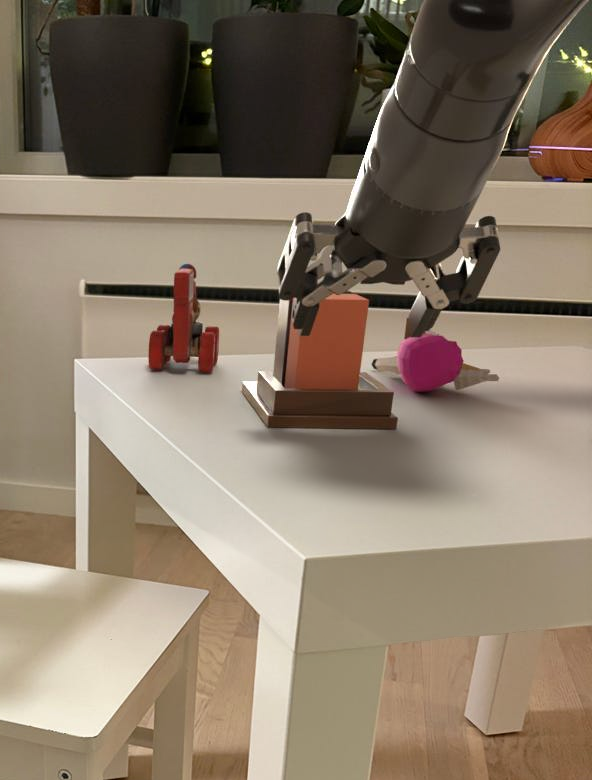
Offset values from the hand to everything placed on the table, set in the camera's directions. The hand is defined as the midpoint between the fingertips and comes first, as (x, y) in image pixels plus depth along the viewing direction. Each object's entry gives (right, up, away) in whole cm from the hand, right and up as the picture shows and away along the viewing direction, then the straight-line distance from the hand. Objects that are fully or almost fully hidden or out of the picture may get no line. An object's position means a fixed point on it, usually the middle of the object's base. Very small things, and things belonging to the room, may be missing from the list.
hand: (357, 327), depth 75 cm
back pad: (0, -3, +12) cm, 12 cm away
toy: (+14, +2, +26) cm, 30 cm away
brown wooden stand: (-1, -3, +15) cm, 15 cm away
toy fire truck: (-11, +6, +33) cm, 35 cm away
